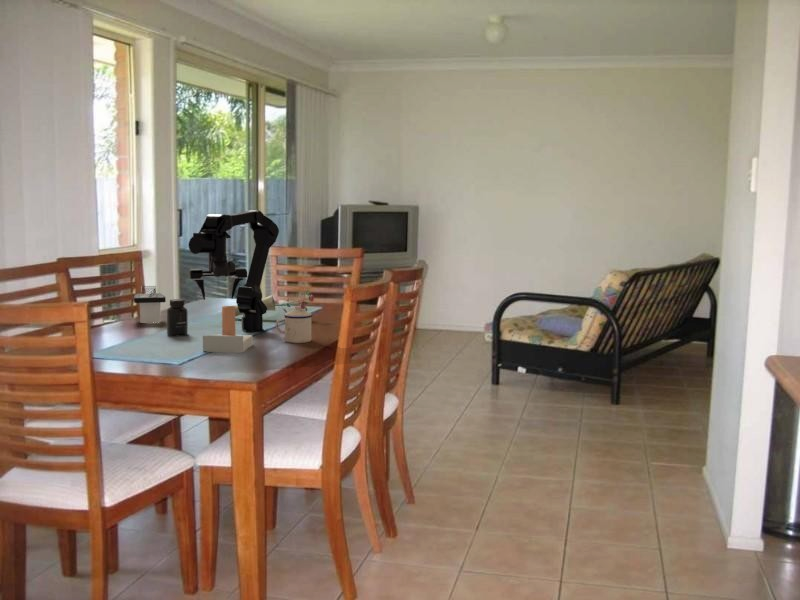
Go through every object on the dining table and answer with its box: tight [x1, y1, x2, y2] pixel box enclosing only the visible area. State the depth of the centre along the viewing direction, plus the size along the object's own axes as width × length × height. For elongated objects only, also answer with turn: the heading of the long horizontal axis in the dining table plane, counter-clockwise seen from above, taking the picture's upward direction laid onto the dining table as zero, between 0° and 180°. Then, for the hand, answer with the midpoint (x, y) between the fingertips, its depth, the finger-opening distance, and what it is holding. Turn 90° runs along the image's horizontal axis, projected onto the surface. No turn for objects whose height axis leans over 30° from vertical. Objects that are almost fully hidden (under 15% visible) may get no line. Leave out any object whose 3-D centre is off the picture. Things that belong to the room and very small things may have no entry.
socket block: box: [202, 334, 253, 354], centre depth 253 cm, size 14×12×5 cm
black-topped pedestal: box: [133, 285, 167, 324], centre depth 302 cm, size 28×26×13 cm
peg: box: [221, 305, 236, 336], centre depth 253 cm, size 4×4×13 cm
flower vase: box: [233, 289, 315, 317], centre depth 310 cm, size 12×12×35 cm
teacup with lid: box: [275, 306, 313, 344], centre depth 267 cm, size 12×9×12 cm
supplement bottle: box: [166, 298, 189, 336], centre depth 275 cm, size 7×7×12 cm
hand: (218, 299), depth 270 cm, fingers open, 9 cm apart
